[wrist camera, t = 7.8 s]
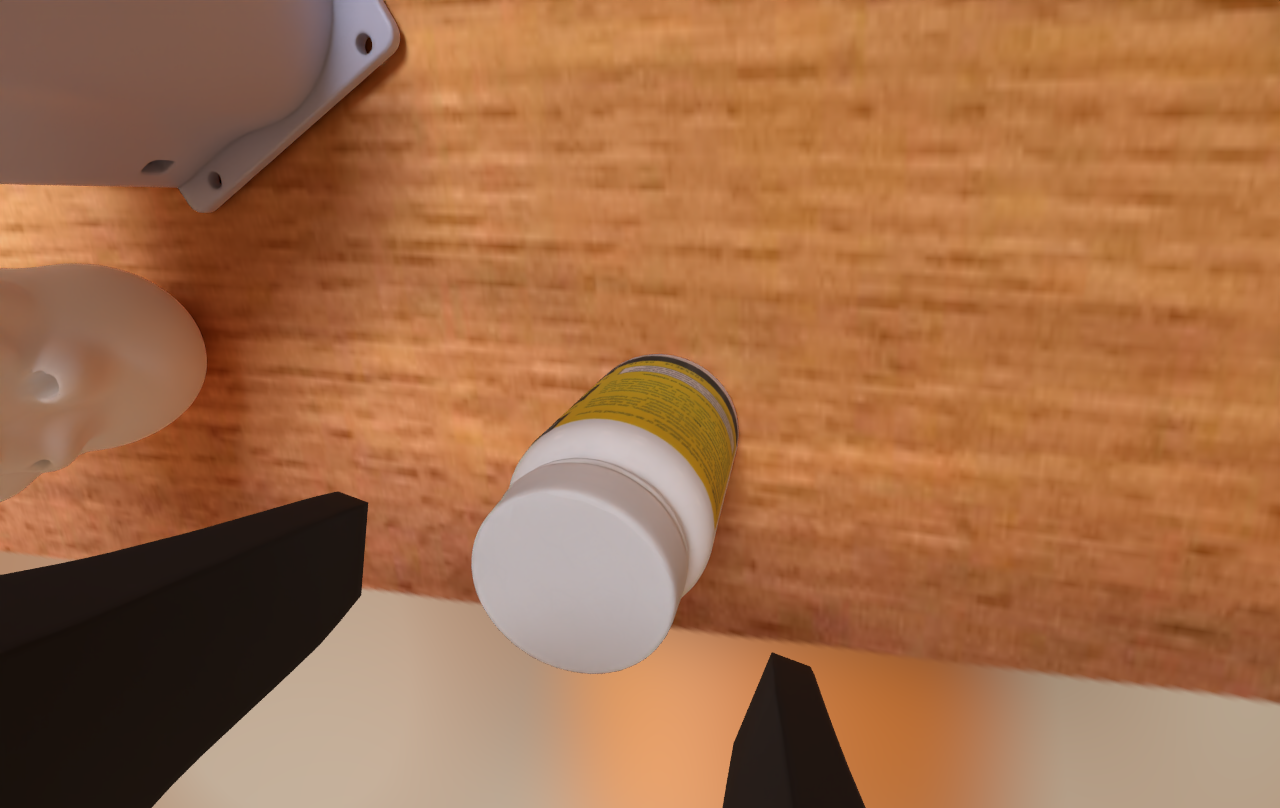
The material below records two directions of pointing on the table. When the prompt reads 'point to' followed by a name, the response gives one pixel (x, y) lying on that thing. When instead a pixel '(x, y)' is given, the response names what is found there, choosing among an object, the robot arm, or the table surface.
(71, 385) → the figurine
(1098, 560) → the table surface
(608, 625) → the supplement bottle
